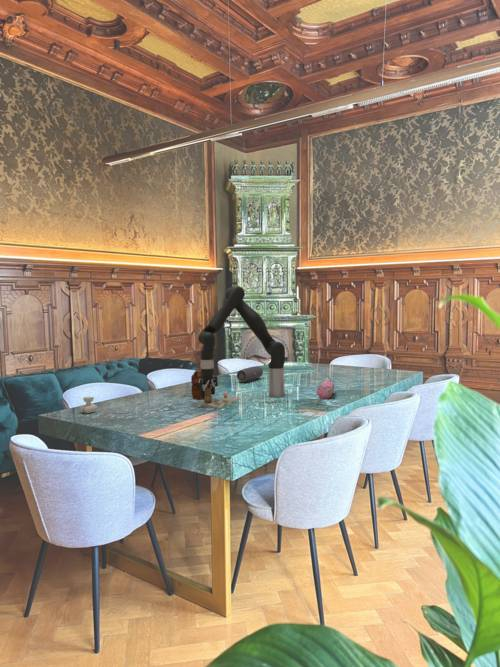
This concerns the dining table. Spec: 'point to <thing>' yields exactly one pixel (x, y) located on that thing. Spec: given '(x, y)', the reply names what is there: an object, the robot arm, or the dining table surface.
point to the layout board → (217, 403)
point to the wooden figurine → (194, 380)
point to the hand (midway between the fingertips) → (208, 395)
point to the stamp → (88, 405)
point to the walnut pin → (207, 395)
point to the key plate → (229, 397)
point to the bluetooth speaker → (249, 374)
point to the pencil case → (325, 389)
